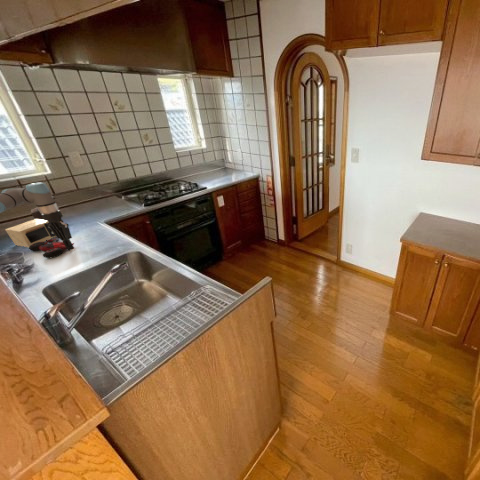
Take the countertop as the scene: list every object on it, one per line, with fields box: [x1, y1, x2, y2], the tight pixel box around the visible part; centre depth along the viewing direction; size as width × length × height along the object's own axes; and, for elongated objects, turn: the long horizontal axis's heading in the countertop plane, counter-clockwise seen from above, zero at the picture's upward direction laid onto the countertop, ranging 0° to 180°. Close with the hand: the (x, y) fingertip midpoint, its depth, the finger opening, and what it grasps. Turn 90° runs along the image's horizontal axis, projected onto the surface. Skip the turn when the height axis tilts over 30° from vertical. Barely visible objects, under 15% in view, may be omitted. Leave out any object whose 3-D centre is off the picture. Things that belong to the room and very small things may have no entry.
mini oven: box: [4, 218, 57, 248], centre depth 163 cm, size 13×16×11 cm
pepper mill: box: [30, 195, 56, 220], centre depth 190 cm, size 16×11×18 cm
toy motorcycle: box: [28, 237, 75, 259], centre depth 155 cm, size 25×5×16 cm
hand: (71, 249), depth 152 cm, fingers closed
